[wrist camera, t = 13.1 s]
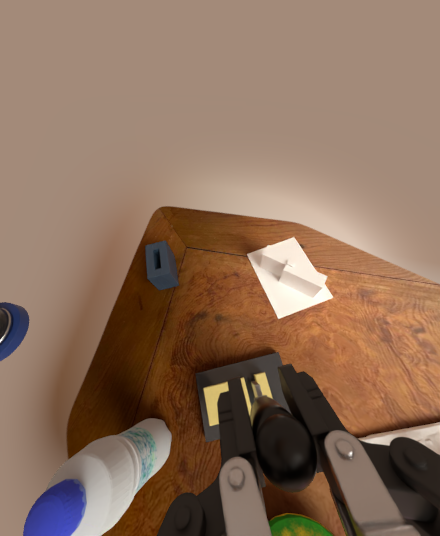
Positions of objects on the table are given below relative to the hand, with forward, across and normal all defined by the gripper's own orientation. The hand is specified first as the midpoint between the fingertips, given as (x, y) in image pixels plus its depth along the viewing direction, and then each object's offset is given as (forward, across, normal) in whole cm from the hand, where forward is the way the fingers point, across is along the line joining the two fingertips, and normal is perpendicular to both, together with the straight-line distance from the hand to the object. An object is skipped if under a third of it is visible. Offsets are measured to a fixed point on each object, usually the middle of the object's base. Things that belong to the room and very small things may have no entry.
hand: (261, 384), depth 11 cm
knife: (+9, 0, +12) cm, 15 cm away
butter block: (+16, +4, +18) cm, 24 cm away
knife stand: (+34, +11, +2) cm, 36 cm away
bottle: (+15, +16, +22) cm, 31 cm away
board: (+17, +1, +19) cm, 26 cm away
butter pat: (+16, -2, +18) cm, 24 cm away
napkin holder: (+29, -12, +7) cm, 33 cm away
